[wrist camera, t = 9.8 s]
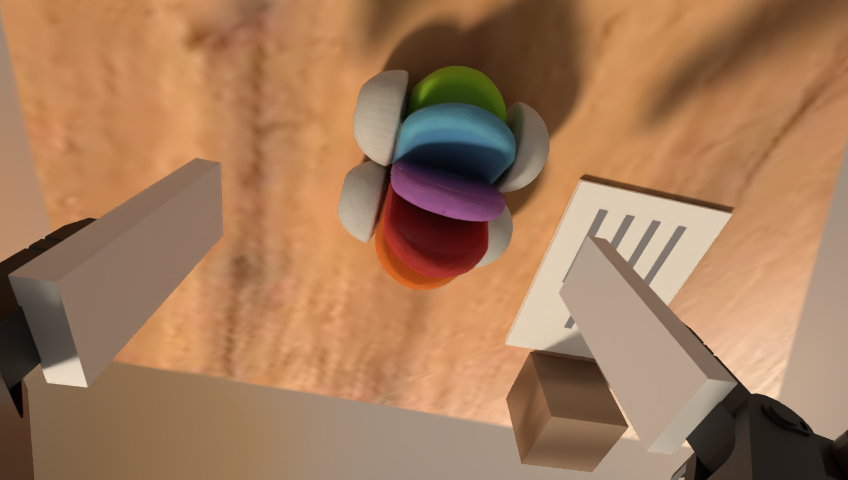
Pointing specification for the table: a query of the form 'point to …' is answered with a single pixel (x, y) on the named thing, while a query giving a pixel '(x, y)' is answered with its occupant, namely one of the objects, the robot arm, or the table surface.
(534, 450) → the walnut block
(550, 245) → the letter
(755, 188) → the table surface
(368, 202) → the rainbow petal toy
